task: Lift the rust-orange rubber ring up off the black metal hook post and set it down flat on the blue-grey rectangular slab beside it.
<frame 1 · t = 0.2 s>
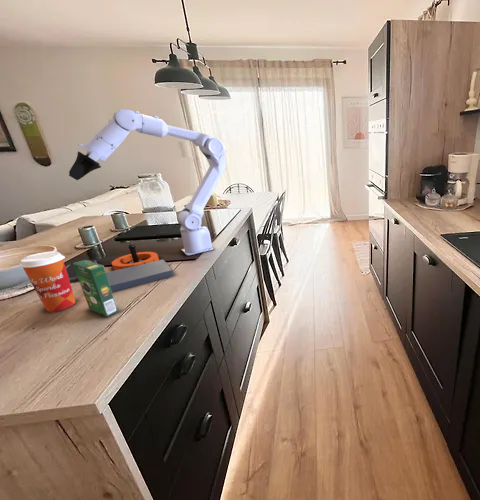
hand: (72, 176, 84), 31 cm above the counter, tool tilted 45°, fingers open, 7 cm apart
blue-grey rectangular slab: (140, 277, 90), on the counter
orange ring: (136, 263, 100), on the counter
hook post: (136, 263, 100), on the counter
coffee box: (104, 311, 73), on the counter
phone: (75, 273, 93), on the counter
paper cup: (62, 306, 75), on the counter
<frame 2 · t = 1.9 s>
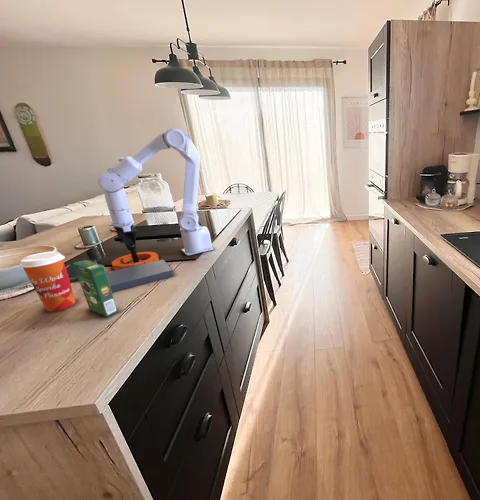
hand: (130, 246, 102), 5 cm above the counter, tool pointing down, fingers open, 7 cm apart
nothing on the counter moved.
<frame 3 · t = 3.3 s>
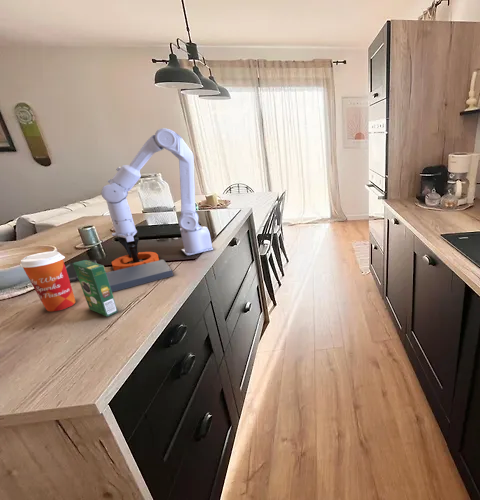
hand: (133, 255, 104), 1 cm above the counter, tool pointing down, fingers closed on orange ring, 2 cm apart
orange ring: (136, 263, 100), on the counter, touching gripper
everything else where it was.
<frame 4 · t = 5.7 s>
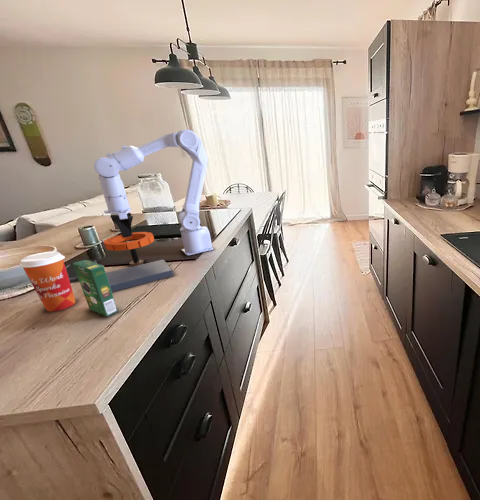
hand: (127, 235, 98), 10 cm above the counter, tool pointing down, fingers closed on orange ring
orange ring: (130, 243, 95), point 8 cm above the counter, touching gripper
everything else where it was.
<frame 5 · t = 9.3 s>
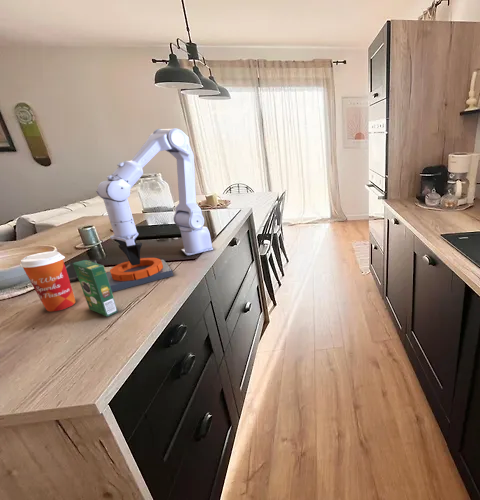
hand: (134, 261, 93), 4 cm above the counter, tool pointing down, fingers open, 7 cm apart
orange ring: (138, 271, 90), point 2 cm above the counter, touching blue-grey rectangular slab
everything else where it was.
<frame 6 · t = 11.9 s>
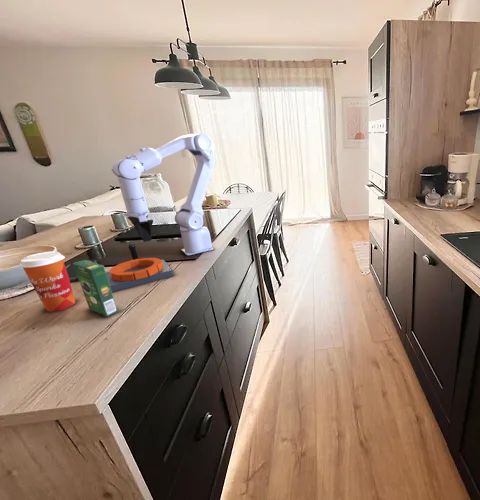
hand: (145, 238, 97), 9 cm above the counter, tool pointing down, fingers open, 7 cm apart
nothing on the counter moved.
at the end: orange ring inside the target area on the blue-grey rectangular slab (0.0 cm from its centre), point 2.0 cm above the blue-grey rectangular slab's base; orange ring tilted 0°; orange ring touching blue-grey rectangular slab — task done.
